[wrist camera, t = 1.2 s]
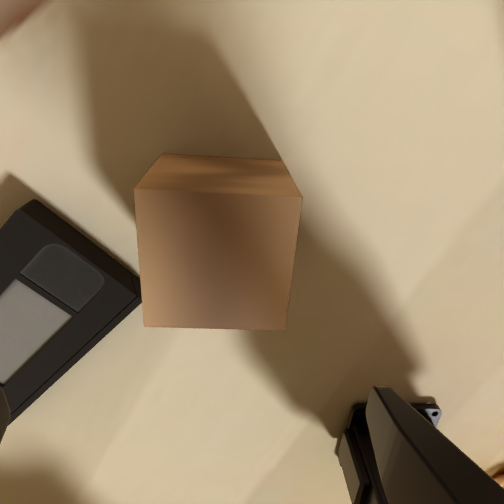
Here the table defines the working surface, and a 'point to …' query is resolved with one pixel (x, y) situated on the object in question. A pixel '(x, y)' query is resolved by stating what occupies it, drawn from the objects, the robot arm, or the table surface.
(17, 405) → the vhs tape
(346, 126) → the table surface
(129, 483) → the table surface
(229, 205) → the walnut cube
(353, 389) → the table surface
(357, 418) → the robot arm
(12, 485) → the table surface
